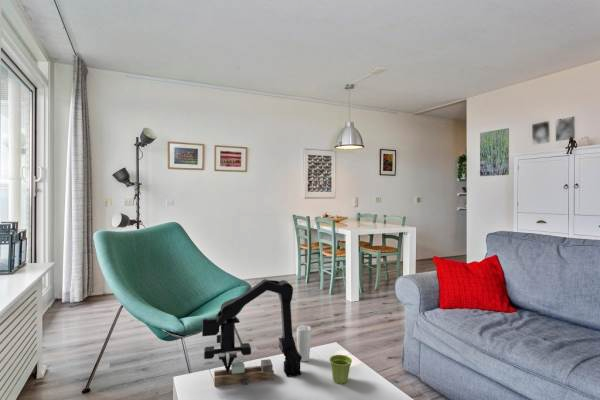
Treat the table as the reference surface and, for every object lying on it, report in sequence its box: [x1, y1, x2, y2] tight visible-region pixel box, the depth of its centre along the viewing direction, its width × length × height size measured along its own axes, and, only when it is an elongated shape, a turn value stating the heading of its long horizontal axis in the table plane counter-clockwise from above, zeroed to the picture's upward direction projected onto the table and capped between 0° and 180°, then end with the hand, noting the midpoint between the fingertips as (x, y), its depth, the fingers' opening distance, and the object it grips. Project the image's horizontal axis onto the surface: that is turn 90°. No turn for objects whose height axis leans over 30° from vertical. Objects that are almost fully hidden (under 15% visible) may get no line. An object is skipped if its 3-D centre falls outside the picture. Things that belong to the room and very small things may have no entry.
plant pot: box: [329, 354, 353, 385], centre depth 148 cm, size 9×9×9 cm
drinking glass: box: [296, 324, 312, 363], centre depth 167 cm, size 7×7×15 cm
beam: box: [213, 358, 275, 387], centre depth 148 cm, size 24×9×6 cm, turn 104°
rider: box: [230, 360, 245, 374], centre depth 147 cm, size 5×6×4 cm
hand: (227, 371), depth 146 cm, fingers closed
